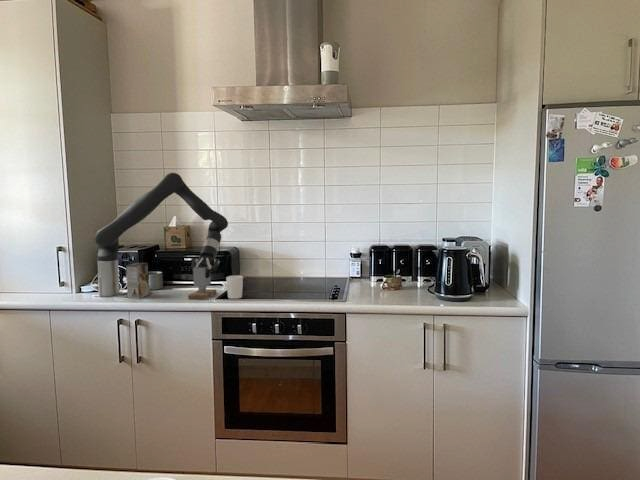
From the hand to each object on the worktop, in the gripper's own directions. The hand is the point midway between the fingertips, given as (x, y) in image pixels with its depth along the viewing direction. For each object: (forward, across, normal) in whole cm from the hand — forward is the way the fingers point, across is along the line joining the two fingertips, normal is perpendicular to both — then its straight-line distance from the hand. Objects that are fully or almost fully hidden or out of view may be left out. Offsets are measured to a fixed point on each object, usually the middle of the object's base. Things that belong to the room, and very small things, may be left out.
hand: (200, 276), depth 217 cm
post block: (+6, 0, +8) cm, 10 cm away
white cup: (+6, +16, +9) cm, 19 cm away
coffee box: (+10, -31, +5) cm, 33 cm away
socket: (+2, 0, +4) cm, 5 cm away
